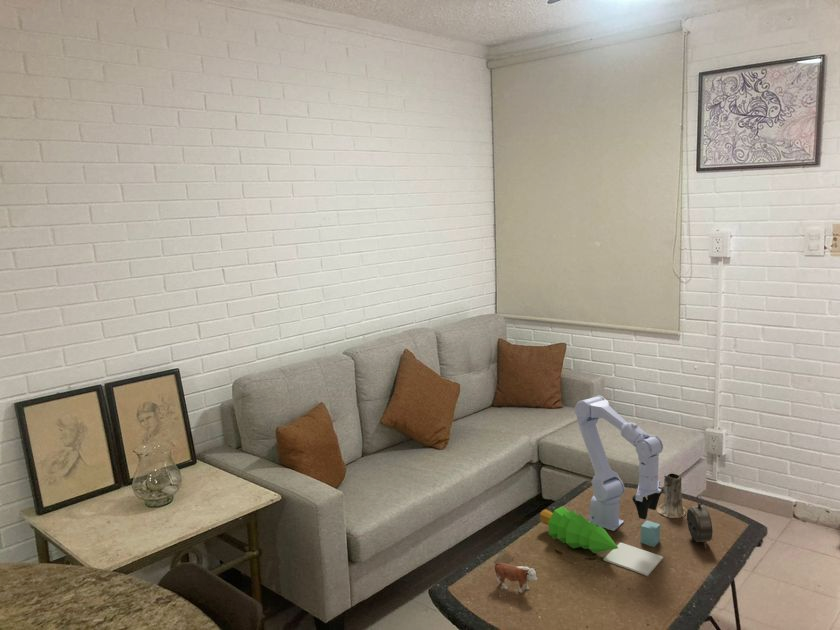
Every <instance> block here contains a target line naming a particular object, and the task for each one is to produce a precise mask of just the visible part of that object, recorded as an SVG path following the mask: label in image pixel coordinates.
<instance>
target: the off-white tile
mask: <svg viewBox="0 0 840 630" xmlns="http://www.w3.org/2000/svg"><path fill="white" fill-rule="evenodd" d="M616 545H617V547H618V548H617V549H612V550H610V552H608V553H607V554H606V556H605V557H603V561H605V562H607V563H610V564H613V565H616V566H618V567H621V568H624V569H627V570H630V571H632V572H635V573H639V574H640V575H643V576H646V577H649V575H650V574H651V573H652V571H654V569H655V568H656V567H657V566H659V564H660V563H661V561H662V560H663V559H664V556H663V555H662V556H661V555H660V554H656V553H653V552H650V551H647V550H645V549H641V548H640V547H639V548H638V547H635V546H633V545H630V544H626V543H624V542H619V543H618V544H616Z"/></svg>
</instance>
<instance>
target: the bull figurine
mask: <svg viewBox="0 0 840 630" xmlns="http://www.w3.org/2000/svg"><path fill="white" fill-rule="evenodd" d="M536 570H537V567H535V568H532V567H531V568H530V567H528V566H518V565H513V564H509V563H504V562H497V563H495V565H494V572H495V574H496V579H497V582H498V584H502V589H504V590H507V591H508V590H509V587H508V586H507V585H506V583H505V579H507V580H509V581H510V582H511V583H513V582H517V583H518V585H519V588H518V592H519V594H523V593H524V592H523V590H522V588H523V586H524V589H526V590H527V591H530V587H529V585H528V584H529V583H530V582H532V581H533V582H537V581H538V577H537V573H536Z"/></svg>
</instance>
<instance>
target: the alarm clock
mask: <svg viewBox="0 0 840 630" xmlns="http://www.w3.org/2000/svg"><path fill="white" fill-rule="evenodd" d="M699 498H700V502H701V503H700V502H699ZM696 501H697V505H693V506H690V507H688V509H687V510H686V511H687V515H686V517H685V518H686V522H687V529H688V531H689V533H690V537H691V539H690V540H689V542H692V541H693V540H694V541H695V542H697V543H700V542H703V546H704V549H705V550H708V546H707V542H710V541H711V540H712V538H713V533H714V532H713V530H714V529H713V524H712V519H711V515H710V513H709V511H708V509H707V508H706V506H704V505H703V498H702V496H701V495H700V494H698V495H697V497H696Z"/></svg>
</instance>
